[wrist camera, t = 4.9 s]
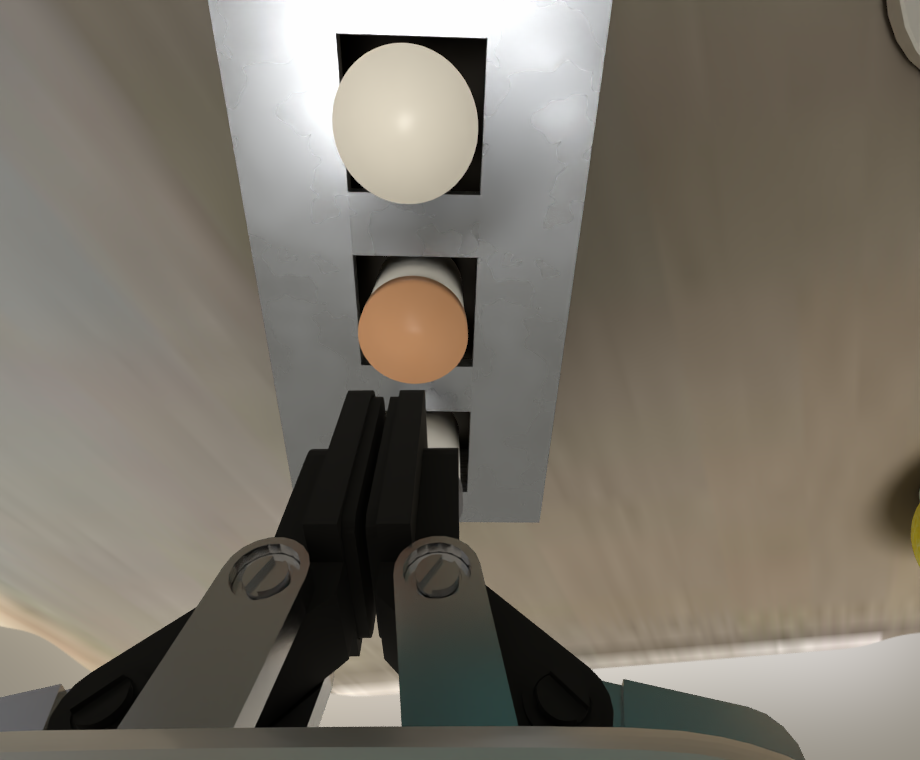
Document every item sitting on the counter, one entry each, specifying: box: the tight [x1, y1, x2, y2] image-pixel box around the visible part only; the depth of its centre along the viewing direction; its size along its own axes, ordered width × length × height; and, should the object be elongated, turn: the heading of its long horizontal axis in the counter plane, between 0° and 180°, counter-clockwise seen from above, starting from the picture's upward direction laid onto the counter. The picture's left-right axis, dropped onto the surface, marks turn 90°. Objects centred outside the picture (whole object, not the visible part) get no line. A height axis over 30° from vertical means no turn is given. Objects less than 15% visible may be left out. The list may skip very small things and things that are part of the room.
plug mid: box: [358, 256, 468, 384], centre depth 25 cm, size 5×5×6 cm
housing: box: [208, 0, 612, 522], centre depth 27 cm, size 14×26×6 cm, turn 178°
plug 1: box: [332, 43, 478, 204], centre depth 19 cm, size 5×5×6 cm
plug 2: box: [386, 411, 463, 519], centre depth 27 cm, size 5×5×6 cm
